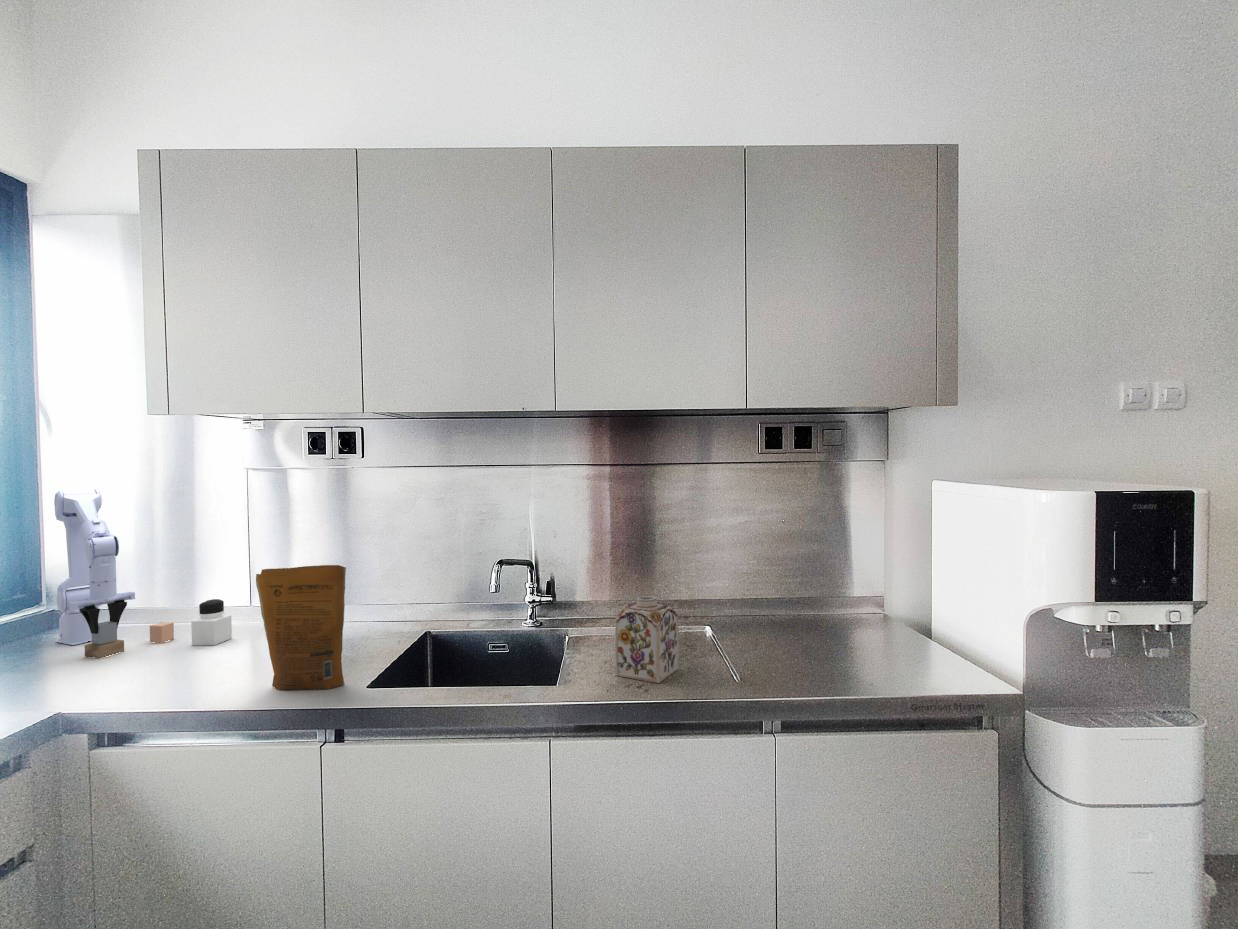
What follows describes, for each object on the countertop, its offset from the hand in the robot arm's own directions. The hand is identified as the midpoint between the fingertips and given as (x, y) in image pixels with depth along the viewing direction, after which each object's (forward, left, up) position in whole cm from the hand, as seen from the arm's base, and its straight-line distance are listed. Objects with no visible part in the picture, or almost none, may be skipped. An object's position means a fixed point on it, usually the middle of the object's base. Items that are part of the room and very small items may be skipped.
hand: (104, 631), depth 174 cm
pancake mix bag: (+74, +3, -7) cm, 74 cm away
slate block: (0, 0, -3) cm, 3 cm away
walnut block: (0, 0, -7) cm, 7 cm away
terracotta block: (+1, +14, -6) cm, 15 cm away
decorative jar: (+142, +42, -7) cm, 148 cm away
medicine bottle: (+16, +19, -7) cm, 26 cm away
